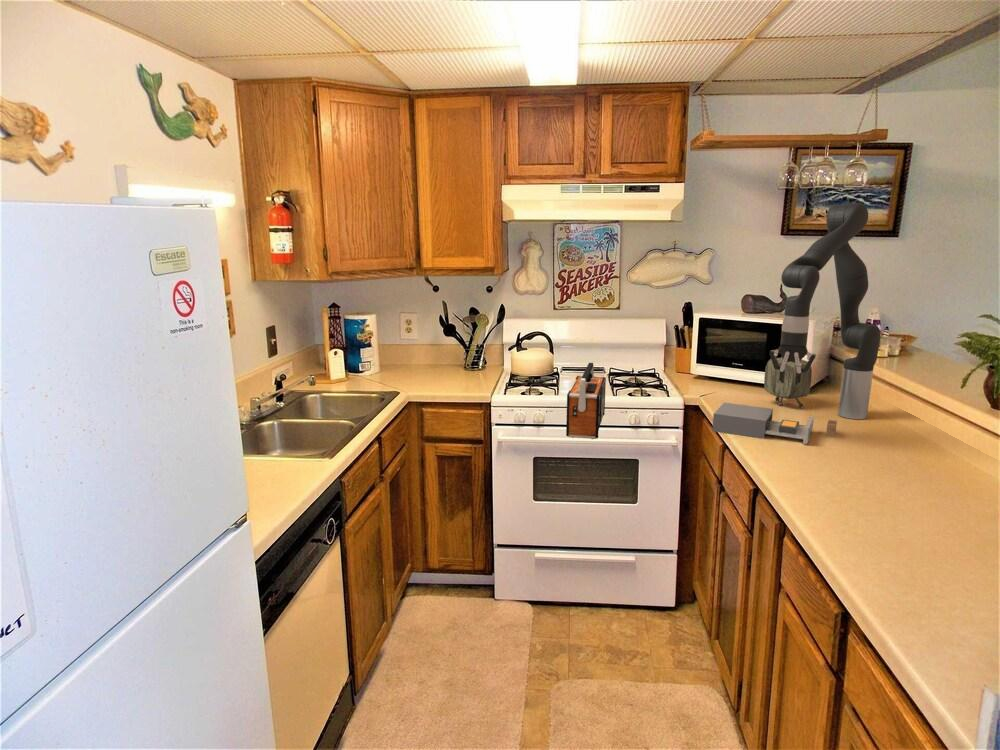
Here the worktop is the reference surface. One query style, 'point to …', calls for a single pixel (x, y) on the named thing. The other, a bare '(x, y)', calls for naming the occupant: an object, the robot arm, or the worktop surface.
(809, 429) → the tray
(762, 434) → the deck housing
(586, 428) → the radio cassette player
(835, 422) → the brown rectangular block
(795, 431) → the block
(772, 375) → the tabletop clock
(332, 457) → the worktop surface
